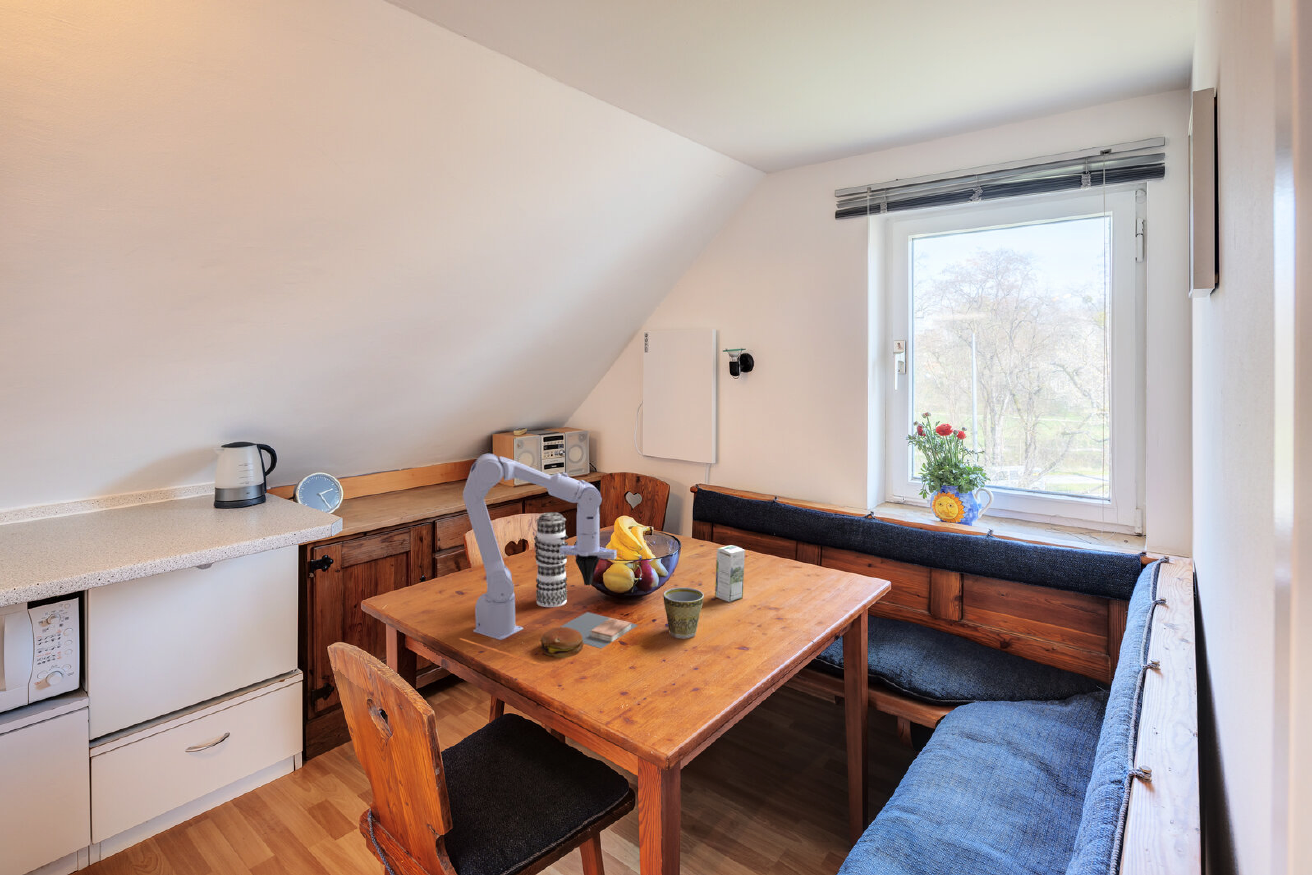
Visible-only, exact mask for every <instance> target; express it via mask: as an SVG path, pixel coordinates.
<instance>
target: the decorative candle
mask: <svg viewBox="0 0 1312 875" xmlns="http://www.w3.org/2000/svg"><path fill="white" fill-rule="evenodd" d="M535 521H536V523H537V526H536V535H534V538H533V540H534V541H535V542H534V547H535V550H534V553H535V555H534V558H535V564H537V572H536V579H535V583H536V585H535V587H536V591H535V594H536V596H535V599H536V604H537V605H538V606H540V607H545V608H555V607H562V606H564V605H565V604H566V603H568V602H567V601H568V600H567V598H568V594H567V593H568V589H567V587H568V583H567V581H568V577H567V573H566V572H567V571H566V563H567V560H568V559H567V558H568V555H560V547H562V546H569V544H568V542H567V541H565V540H567V539H568V538H569V536H568V535H567V534H566V525H565V524H566V521H567V518H565V517H564V516H563V515H562V514H561V513H559V512H551V511H550V512H544V513H541V514H540V515H539V517H538V518H537V519H536V520H535Z"/></svg>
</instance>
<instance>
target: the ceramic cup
mask: <svg viewBox="0 0 1312 875" xmlns="http://www.w3.org/2000/svg"><path fill="white" fill-rule="evenodd" d="M662 596H663V603H664V610H665V613H666V620H667V628H668V632H669V635H670V636H672V637H674V638H676V639H683V640H687V639H690V638H693V637H695V636H696V634H697V629H698V625H699V620H700V614H701V611H702V608H703V604H704V598H705V597H704V596H705V595H704V593H703V592H702V591H701V590H699V589H695V588H692V587H673V588H669V589H667V590H665V591H664V592H663V594H662ZM686 638H687V639H686Z"/></svg>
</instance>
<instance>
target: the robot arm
mask: <svg viewBox="0 0 1312 875" xmlns="http://www.w3.org/2000/svg"><path fill="white" fill-rule="evenodd" d="M470 467H471V468H470V471H469V474H468V477H467V480H466V482H465V486H464V489H463V491H462V492H463V493H462V498H463V501H464V505H465V508H466V511H467V514H468V518H469V521H470V524H471V528H472V531H473V534H474V537H475V541H476V544H477V547H478V551H479V554H480V557H481V559H482V560H481V561H482V563H483V566H484V567H483V568H484V572H485V582H486V593H483V594H481V595H480V596H479V597H477V600H476V602H475V609H474V610H475V612H474V613H475V629H473V632H474V633H476V634H481V635H483V636H487V637H489V638H493V639H496V640H499V641H502V640H504V639H507V638H508V637H510V636H512V635H514V634H516V633H518V632H520V631H521V630H523V629H524V627H523V626H519V625H516V595H515V592H514V591H515V586H514V583H513V580H512V576H513V575H512V572H511V570H510V569H509V568H508V567H507V566H506V565H505V563H504V559H503V557H502V553H501V551H500V548H499V544H498V539H497V538H496V534H495V531H494V528H493V523H492V521H491V518H490V513H489V511H488V508H487V504H486V501H485V498H486V496H487V495H488V493H489V491H490V490H491V489H492V488H493V487H494V486H496V485H497V484H498V483H500V482H501V480H502V478H503V479H504V482H505V481H510V480H514V479H519V480H521V481H524V482H527V483H531V484H533V485H536V486H541V487H543V488H546V490H547V492H548V495H550V496H552V497H555V498H558V499H560V500H563V501H566V502H569V503H572V504H576V503H577V506H576V508H577V509H576V510H577V512H576V545H567V546H562V547H560V555H567V556H576V558H575V559H574V560H575V563H576V565H577V566H578V568H579V571H580V573H581V577H582V580H583V584H584V586H591V585H592V583H593V579H594V574H595V572H596V571H595V570H596V568H597V566H598V564H599V561H600V559H601V558H602V559H610V560H611V561H612V560H615V559H617V554H618V553H617V549H610V548H606V547H602V546H601V547H600V505H602V501H603V498H602V495H601V492H600V491H599V490H598V489H597V487H595V485H593V484H591V483H590V482H588V481H587V482H586V481H585V480H583V479H581V480H577V479H575V478H572V477H570V476H569V474H568V473H566V472H564V471H563V472H561V473H559V472H556V473H554V474H551V475H550V474H548V473H545V472H543V471H540V470H539V469H536V468H534V467H531V466H528V465H527V464H523V463H522V462H519V461H517V460H513V459H511V458H509V457H508V458H507V457H504V456H499V457H498V456H497V455H496V454H493V453H485V454H482V455H480V456H479V457H477V459H476V460H475V462H473V464H472V465H471V466H470Z"/></svg>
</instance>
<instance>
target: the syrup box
mask: <svg viewBox="0 0 1312 875" xmlns="http://www.w3.org/2000/svg"><path fill="white" fill-rule="evenodd" d="M745 553H746V550H745V549H743V548H742V547H739V546H737V545H732V544H731V545H725V546H722V547H718V548H717V549H716V559H715V560H716V562H715V564H716V565H715V567H716V568H715V587H714V588H715V593H714V595H715V596H714V597H716V598H718V599H720V600H722V601H725V602H728V603H731V602H734V601H737V600H740V599H742V598H743V597H744V577H745V576H744V575H745Z"/></svg>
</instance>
